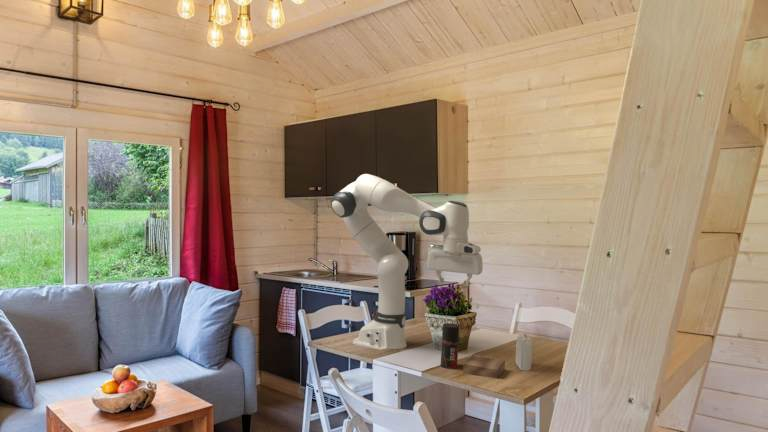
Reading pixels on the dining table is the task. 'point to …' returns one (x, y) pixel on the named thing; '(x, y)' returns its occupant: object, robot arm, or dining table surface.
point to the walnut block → (484, 367)
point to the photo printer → (523, 352)
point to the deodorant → (449, 345)
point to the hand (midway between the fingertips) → (453, 284)
